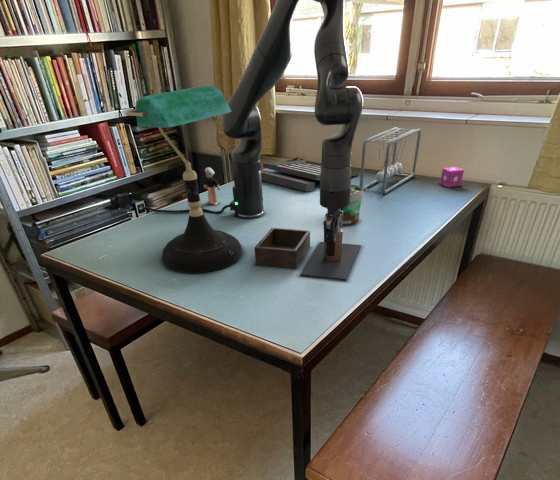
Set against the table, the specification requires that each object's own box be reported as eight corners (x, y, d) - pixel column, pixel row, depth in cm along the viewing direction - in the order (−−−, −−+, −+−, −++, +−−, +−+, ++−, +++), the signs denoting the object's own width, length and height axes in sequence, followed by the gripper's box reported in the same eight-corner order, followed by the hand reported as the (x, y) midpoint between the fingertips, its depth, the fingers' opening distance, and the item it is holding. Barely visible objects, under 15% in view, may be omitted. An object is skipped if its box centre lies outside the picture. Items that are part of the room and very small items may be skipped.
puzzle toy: (447, 187, 162) (450, 171, 158) (439, 183, 166) (442, 168, 162) (460, 185, 163) (464, 170, 159) (452, 182, 167) (455, 166, 163)
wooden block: (323, 256, 116) (323, 228, 111) (336, 254, 117) (338, 226, 112) (327, 262, 113) (328, 233, 108) (341, 260, 114) (343, 231, 109)
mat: (300, 275, 109) (300, 274, 109) (320, 243, 125) (320, 241, 125) (346, 280, 106) (346, 279, 105) (360, 246, 122) (360, 245, 122)
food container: (360, 228, 133) (363, 195, 126) (341, 227, 134) (343, 195, 128) (362, 215, 142) (365, 183, 136) (344, 214, 143) (346, 183, 137)
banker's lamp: (203, 283, 108) (172, 98, 83) (141, 265, 118) (95, 96, 93) (261, 246, 125) (249, 84, 100) (202, 233, 135) (178, 83, 110)
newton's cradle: (391, 173, 181) (397, 125, 169) (414, 176, 176) (422, 127, 164) (358, 191, 162) (362, 140, 151) (383, 195, 157) (389, 142, 146)
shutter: (304, 176, 201) (254, 181, 183) (305, 160, 198) (254, 163, 179) (357, 185, 182) (307, 191, 163) (359, 167, 178) (308, 171, 160)
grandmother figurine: (202, 204, 158) (196, 168, 150) (207, 201, 160) (202, 165, 152) (220, 206, 155) (215, 169, 147) (225, 203, 158) (220, 166, 150)
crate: (255, 264, 115) (254, 247, 112) (272, 244, 126) (271, 227, 123) (296, 268, 112) (295, 251, 109) (310, 247, 123) (310, 230, 120)
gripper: (326, 176, 109) (325, 239, 120) (313, 193, 99) (312, 260, 110) (355, 177, 107) (351, 242, 118) (344, 194, 97) (341, 263, 108)
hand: (332, 250), depth 114 cm, fingers closed on wooden block, 5 cm apart
